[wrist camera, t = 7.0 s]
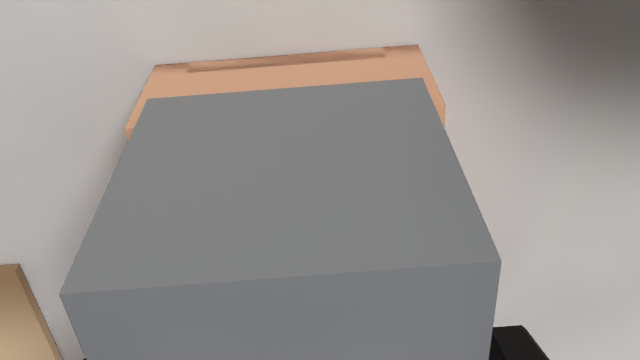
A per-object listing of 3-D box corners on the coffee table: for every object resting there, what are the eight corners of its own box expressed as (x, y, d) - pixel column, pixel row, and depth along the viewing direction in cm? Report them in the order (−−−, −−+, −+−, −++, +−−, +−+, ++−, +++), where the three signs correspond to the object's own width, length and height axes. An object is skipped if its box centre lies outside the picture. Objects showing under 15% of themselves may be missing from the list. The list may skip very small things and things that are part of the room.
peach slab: (411, 322, 19) (429, 405, 16) (218, 336, 19) (206, 422, 16) (418, 44, 14) (445, 104, 11) (154, 64, 14) (124, 129, 11)
